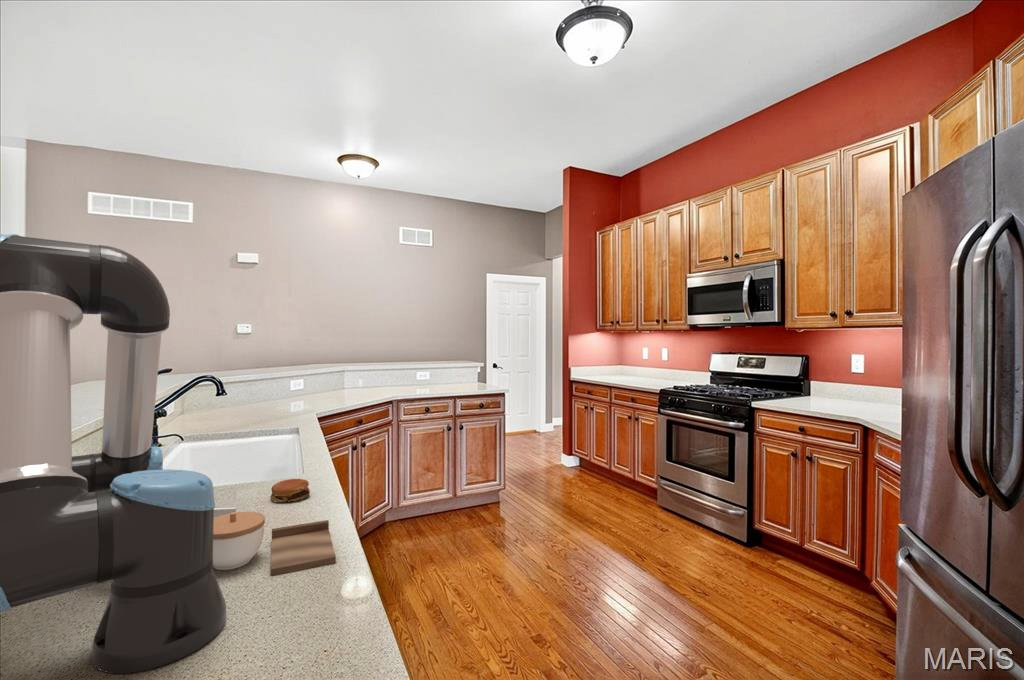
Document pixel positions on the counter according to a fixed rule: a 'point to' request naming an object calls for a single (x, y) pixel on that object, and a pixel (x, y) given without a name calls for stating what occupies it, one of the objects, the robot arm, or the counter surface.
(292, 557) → the walnut board
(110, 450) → the robot arm
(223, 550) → the lidded jar
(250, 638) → the counter surface
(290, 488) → the burger
